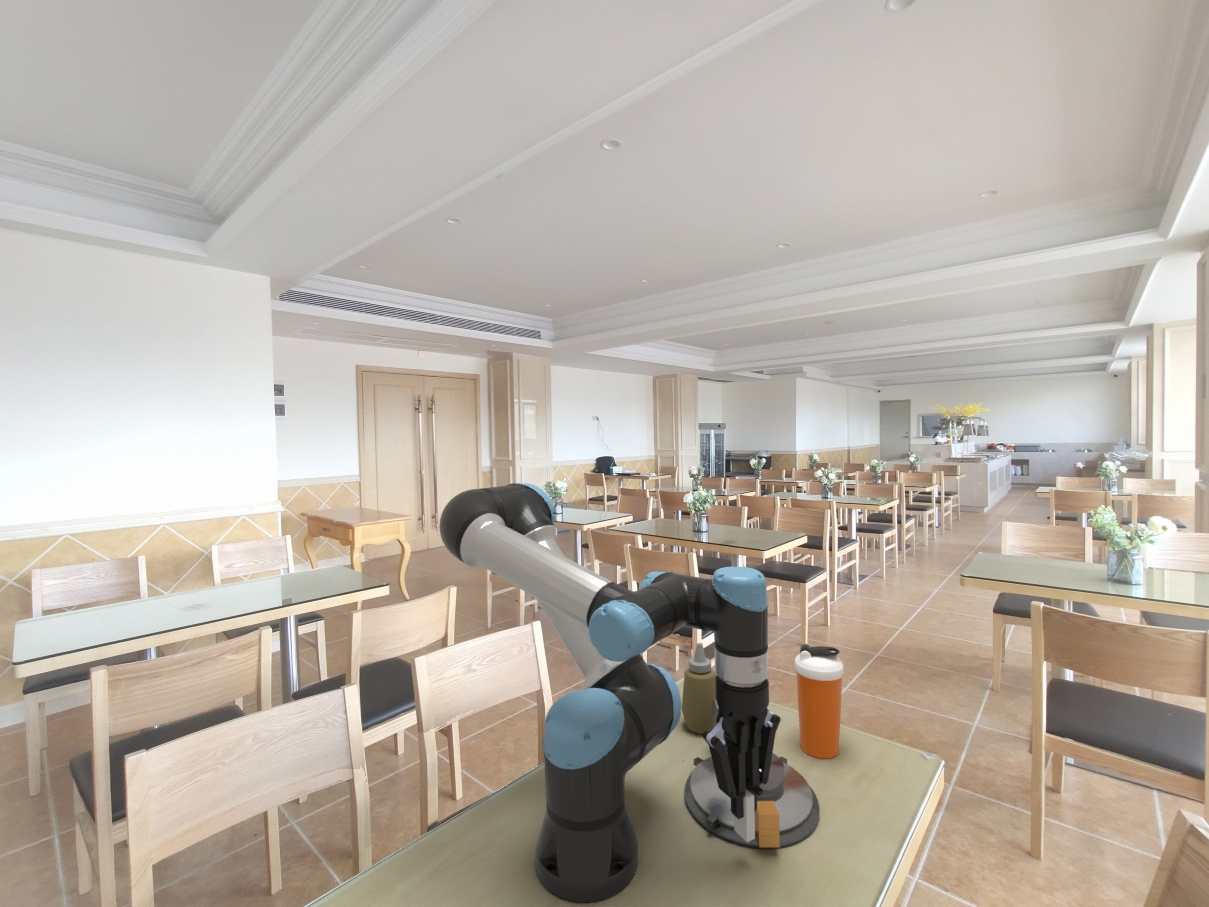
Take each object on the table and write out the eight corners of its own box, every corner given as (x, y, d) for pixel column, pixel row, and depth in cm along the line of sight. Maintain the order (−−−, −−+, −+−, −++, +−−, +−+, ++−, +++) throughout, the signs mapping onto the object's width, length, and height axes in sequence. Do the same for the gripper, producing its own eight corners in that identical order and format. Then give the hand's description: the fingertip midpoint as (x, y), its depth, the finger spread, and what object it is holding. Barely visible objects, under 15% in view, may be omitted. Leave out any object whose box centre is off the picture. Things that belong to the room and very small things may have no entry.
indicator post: (726, 773, 102) (725, 704, 101) (710, 749, 110) (709, 684, 109) (746, 770, 102) (745, 702, 102) (729, 746, 110) (728, 682, 110)
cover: (734, 803, 90) (734, 775, 90) (725, 769, 99) (724, 744, 99) (790, 803, 90) (790, 776, 89) (776, 769, 99) (776, 744, 98)
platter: (701, 847, 82) (701, 814, 82) (684, 758, 105) (683, 732, 104) (837, 847, 82) (837, 814, 81) (791, 757, 104) (790, 731, 104)
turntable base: (693, 849, 84) (693, 842, 84) (678, 761, 106) (678, 756, 106) (841, 849, 83) (841, 842, 83) (794, 760, 105) (794, 755, 105)
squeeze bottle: (692, 713, 123) (691, 634, 122) (726, 724, 118) (725, 641, 118) (674, 730, 117) (673, 646, 116) (710, 742, 112) (709, 654, 111)
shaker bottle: (848, 764, 104) (848, 659, 103) (798, 759, 105) (797, 656, 104) (838, 737, 112) (838, 641, 111) (792, 734, 114) (791, 638, 113)
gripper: (723, 698, 74) (726, 870, 75) (794, 675, 80) (796, 834, 81) (689, 677, 80) (692, 834, 81) (757, 657, 86) (759, 804, 87)
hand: (744, 834), depth 81 cm, fingers closed
